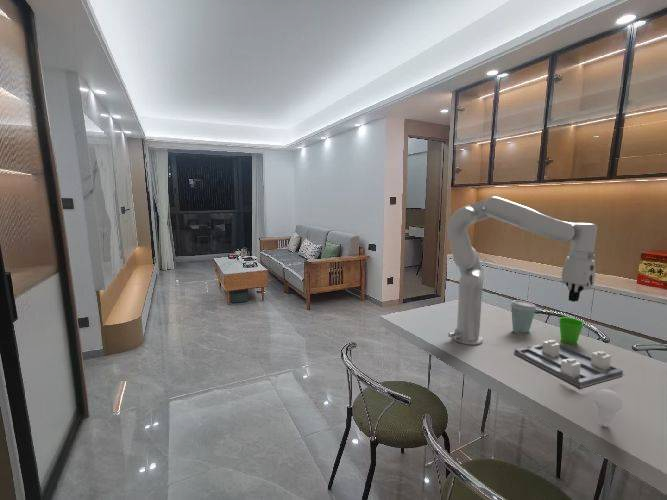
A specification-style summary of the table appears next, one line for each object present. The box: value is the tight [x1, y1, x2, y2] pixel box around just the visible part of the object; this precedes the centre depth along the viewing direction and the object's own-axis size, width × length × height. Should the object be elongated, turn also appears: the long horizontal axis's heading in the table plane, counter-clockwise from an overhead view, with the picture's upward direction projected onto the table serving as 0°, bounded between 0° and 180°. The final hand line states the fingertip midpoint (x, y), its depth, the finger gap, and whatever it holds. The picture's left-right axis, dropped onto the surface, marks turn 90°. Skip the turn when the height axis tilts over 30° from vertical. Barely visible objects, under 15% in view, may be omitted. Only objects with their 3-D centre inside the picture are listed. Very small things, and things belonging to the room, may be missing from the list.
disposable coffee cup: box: [510, 299, 537, 335], centre depth 158 cm, size 11×11×15 cm
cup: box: [558, 316, 585, 345], centre depth 145 cm, size 9×9×11 cm
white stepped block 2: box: [560, 358, 581, 378], centre depth 118 cm, size 4×4×6 cm
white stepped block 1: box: [542, 339, 561, 357], centre depth 133 cm, size 4×4×6 cm
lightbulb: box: [593, 388, 624, 428], centre depth 94 cm, size 6×6×11 cm
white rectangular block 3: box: [590, 350, 612, 369], centre depth 124 cm, size 4×4×6 cm
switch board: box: [513, 342, 624, 390], centre depth 128 cm, size 22×26×2 cm
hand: (573, 300), depth 132 cm, fingers closed
